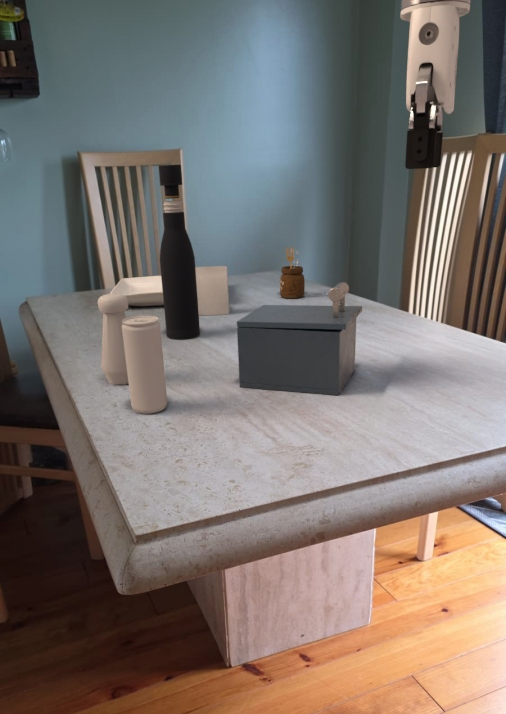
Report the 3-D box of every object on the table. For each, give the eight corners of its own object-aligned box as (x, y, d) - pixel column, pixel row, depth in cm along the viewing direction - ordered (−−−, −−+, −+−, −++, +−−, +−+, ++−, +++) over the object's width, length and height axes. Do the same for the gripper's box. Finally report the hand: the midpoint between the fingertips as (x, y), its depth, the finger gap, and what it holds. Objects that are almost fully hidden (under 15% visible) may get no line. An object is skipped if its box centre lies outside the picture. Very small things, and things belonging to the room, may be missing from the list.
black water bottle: (172, 341, 116) (156, 165, 104) (162, 334, 122) (146, 165, 109) (204, 336, 119) (193, 164, 106) (193, 329, 124) (181, 164, 112)
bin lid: (362, 311, 92) (362, 278, 90) (345, 329, 82) (346, 292, 80) (263, 310, 97) (261, 278, 95) (236, 327, 87) (234, 292, 85)
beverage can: (167, 413, 82) (158, 323, 77) (130, 416, 81) (118, 325, 76) (168, 401, 86) (160, 314, 81) (133, 403, 86) (123, 316, 81)
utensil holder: (306, 294, 154) (306, 243, 149) (302, 299, 149) (302, 247, 144) (282, 294, 155) (282, 244, 150) (278, 299, 150) (277, 247, 145)
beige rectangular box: (228, 314, 136) (226, 267, 132) (198, 315, 136) (194, 268, 132) (229, 310, 140) (227, 264, 135) (199, 312, 140) (196, 266, 135)
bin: (354, 371, 96) (356, 313, 92) (338, 395, 86) (339, 332, 82) (264, 364, 100) (263, 310, 97) (239, 387, 90) (236, 327, 87)
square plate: (226, 305, 145) (226, 288, 143) (108, 311, 143) (106, 294, 142) (223, 286, 169) (223, 271, 168) (123, 290, 168) (121, 276, 166)
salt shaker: (142, 373, 98) (132, 290, 93) (142, 384, 93) (132, 297, 88) (104, 376, 97) (92, 292, 92) (102, 388, 92) (90, 299, 87)
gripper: (468, -25, 61) (451, 167, 68) (473, 11, 75) (458, 166, 82) (390, -15, 63) (381, 170, 70) (410, 18, 78) (401, 168, 85)
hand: (423, 168), depth 76 cm, fingers open, 9 cm apart
